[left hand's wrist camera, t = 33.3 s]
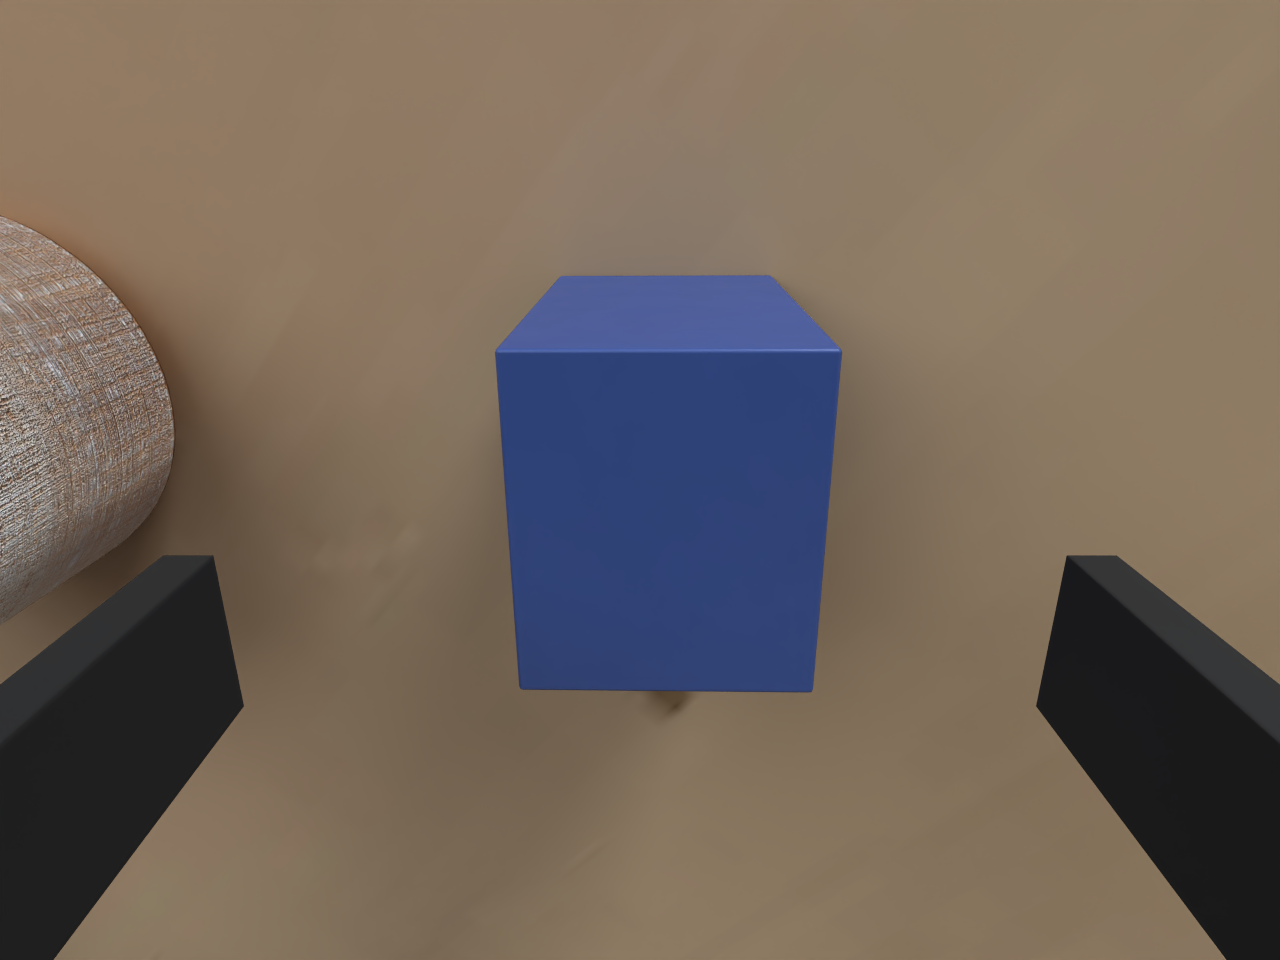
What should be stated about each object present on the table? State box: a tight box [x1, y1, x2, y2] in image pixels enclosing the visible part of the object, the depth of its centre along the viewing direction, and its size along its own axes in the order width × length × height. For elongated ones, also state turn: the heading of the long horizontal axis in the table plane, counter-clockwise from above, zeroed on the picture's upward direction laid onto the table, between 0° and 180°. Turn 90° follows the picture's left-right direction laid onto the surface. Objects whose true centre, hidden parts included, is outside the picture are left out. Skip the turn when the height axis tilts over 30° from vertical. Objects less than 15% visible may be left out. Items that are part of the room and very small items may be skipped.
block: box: [495, 276, 842, 692], centre depth 19 cm, size 7×6×10 cm
